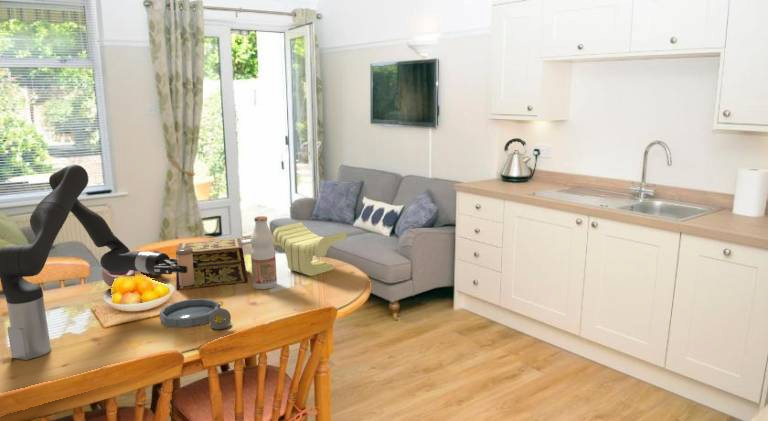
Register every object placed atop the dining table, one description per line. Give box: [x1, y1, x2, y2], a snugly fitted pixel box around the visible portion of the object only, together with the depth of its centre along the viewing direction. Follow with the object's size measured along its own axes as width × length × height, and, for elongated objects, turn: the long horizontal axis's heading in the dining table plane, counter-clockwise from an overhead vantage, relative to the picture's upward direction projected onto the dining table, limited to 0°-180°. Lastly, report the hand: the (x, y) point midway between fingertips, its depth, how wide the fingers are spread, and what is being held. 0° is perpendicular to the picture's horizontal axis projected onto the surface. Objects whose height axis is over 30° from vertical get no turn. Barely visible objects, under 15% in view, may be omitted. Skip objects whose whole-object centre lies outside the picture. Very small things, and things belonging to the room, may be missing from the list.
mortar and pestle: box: [101, 267, 136, 288], centre depth 228 cm, size 12×12×11 cm
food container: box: [140, 250, 162, 280], centre depth 241 cm, size 12×6×10 cm, turn 168°
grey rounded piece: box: [209, 301, 232, 330], centre depth 187 cm, size 8×8×10 cm
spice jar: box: [175, 248, 195, 286], centre depth 194 cm, size 5×5×12 cm
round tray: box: [159, 298, 219, 328], centre depth 198 cm, size 19×19×3 cm
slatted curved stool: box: [272, 221, 347, 277], centre depth 246 cm, size 30×16×18 cm, turn 47°
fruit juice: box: [250, 215, 278, 290], centre depth 225 cm, size 9×9×28 cm
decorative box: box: [175, 237, 249, 291], centre depth 236 cm, size 28×19×15 cm
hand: (191, 267), depth 194 cm, fingers closed on spice jar, 5 cm apart
